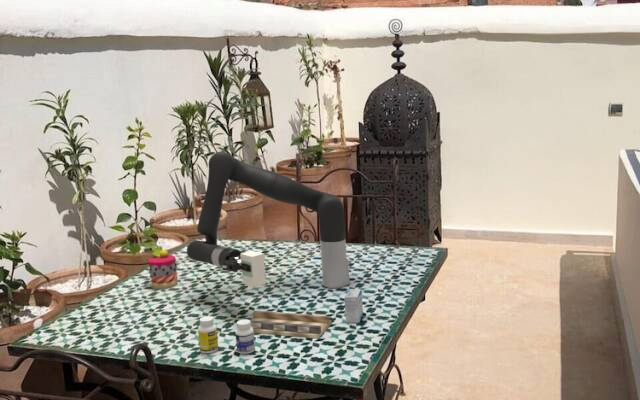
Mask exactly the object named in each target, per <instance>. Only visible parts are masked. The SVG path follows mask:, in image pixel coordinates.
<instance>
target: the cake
mask: <svg viewBox="0 0 640 400" xmlns="http://www.w3.org/2000/svg"><path fill="white" fill-rule="evenodd" d="M151 252H152V253H151V254H152V257H150V258H149V259H148V260H147V263H148V267H149V271H148V273H149V276H148V277H149V278H151V279H150V284H151V288H152V289H155V290H166V289H171V288H174V287H176V286H177V285H178V276H179V274H178V271H177V263H176V256H175V255H172V254H169V252H168V251H167V250H166V249H163V247H162V246H161V245H159V246H158V247H156V246H153V247H151Z"/></svg>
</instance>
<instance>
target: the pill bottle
mask: <svg viewBox="0 0 640 400" xmlns="http://www.w3.org/2000/svg"><path fill="white" fill-rule="evenodd" d="M250 320H251V319H246V318H245V319H239V320H238V321H237V322H236V329H235V334H234V335H235V341H236V342H235V343H236V344H235V346H236V352H237V353H239V354H241V355H243V354H244V355H247V354H251V353H253V352H255V350H256V344H255V333H254V331H253V328H252V327H250V326H251V322H250Z"/></svg>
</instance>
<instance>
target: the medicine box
mask: <svg viewBox="0 0 640 400" xmlns="http://www.w3.org/2000/svg"><path fill="white" fill-rule="evenodd" d="M363 307H364V306H363V292H362V289H361V288H349V289H347V292H346V295H345V296H344V313H345V322H346V323H348V324H349V323H350V324H351V323H354V324H355V323H356V324H357V323H358V324H360V322H361V320H362V317H363V314H364V308H363Z"/></svg>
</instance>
